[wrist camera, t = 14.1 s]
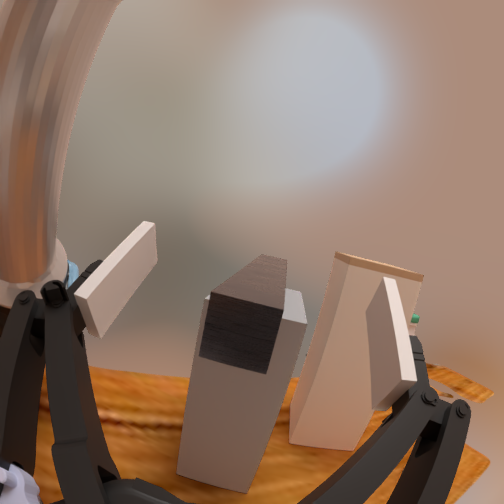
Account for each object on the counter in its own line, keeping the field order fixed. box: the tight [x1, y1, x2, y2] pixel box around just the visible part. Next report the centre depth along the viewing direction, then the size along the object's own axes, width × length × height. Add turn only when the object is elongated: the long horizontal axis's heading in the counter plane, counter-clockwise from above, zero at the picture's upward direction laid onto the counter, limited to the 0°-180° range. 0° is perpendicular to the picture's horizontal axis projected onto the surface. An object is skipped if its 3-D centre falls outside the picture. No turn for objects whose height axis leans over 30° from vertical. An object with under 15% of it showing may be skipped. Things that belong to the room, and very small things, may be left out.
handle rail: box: [199, 255, 287, 374], centre depth 26 cm, size 4×26×4 cm, turn 173°
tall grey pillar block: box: [176, 288, 307, 494], centre depth 32 cm, size 9×14×24 cm, turn 173°
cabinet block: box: [289, 252, 424, 451], centre depth 42 cm, size 11×12×30 cm
